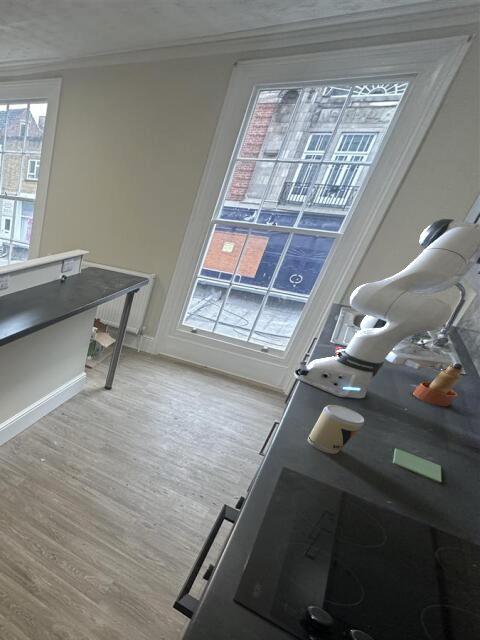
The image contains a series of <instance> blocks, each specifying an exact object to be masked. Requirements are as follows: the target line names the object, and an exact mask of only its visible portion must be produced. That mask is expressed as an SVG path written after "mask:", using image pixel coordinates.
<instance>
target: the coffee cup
mask: <svg viewBox="0 0 480 640" xmlns="http://www.w3.org/2000/svg"><path fill="white" fill-rule="evenodd" d="M364 424H365V418H364V417H363V415H361V414H360V413H358V412H357V411H355V410H353V409H351V408H348V407H345V406H342V405H338V404H328V405H326V406H325V407H323V410H322V411H321V413H320V415H319V417H318V419H317V421H316V422H315V425H313V428H312V430H311V432H310V433H309V435H308V437H307V442H308V443H309V445H311V446H312V448H315V449H316V450H318V451H321V452H324V453H327V454H332V455H333V454H337V453H339V452H340V451H341V450H342V449H343V447H344V446H345V445H346V444H347V443H348V442H349V441H350V440H351V439H352V437H353V436H354V435H355V434H356V433H357V432H358V431H359V430H360V429H361V427H363V426H364ZM309 437H310V439H311V440H312V441H314V442H315V443H317V444H319V445H321V446H323V447H325V448H328V449H332V450H340V449H341V450H340V451H329V450H326V449H323V448H321V447H319V446H317V445H315V444H314V443H313V442H311V441H310V439H309Z"/></svg>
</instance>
